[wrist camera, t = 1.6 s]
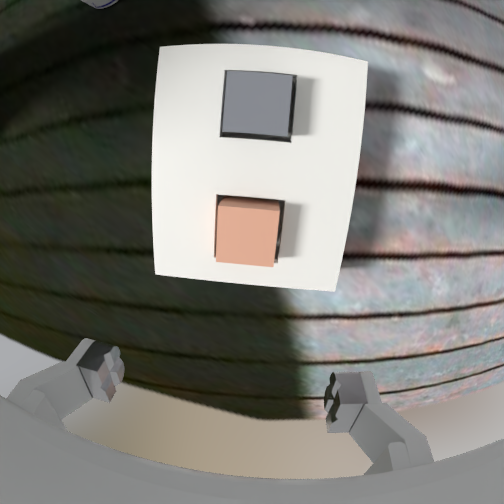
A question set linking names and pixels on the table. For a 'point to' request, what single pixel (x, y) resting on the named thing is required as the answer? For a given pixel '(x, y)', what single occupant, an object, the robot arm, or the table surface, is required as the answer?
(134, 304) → the table surface
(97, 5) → the energy drink
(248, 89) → the charcoal key
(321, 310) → the table surface
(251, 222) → the terracotta key
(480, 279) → the table surface
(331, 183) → the button panel
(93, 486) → the robot arm
